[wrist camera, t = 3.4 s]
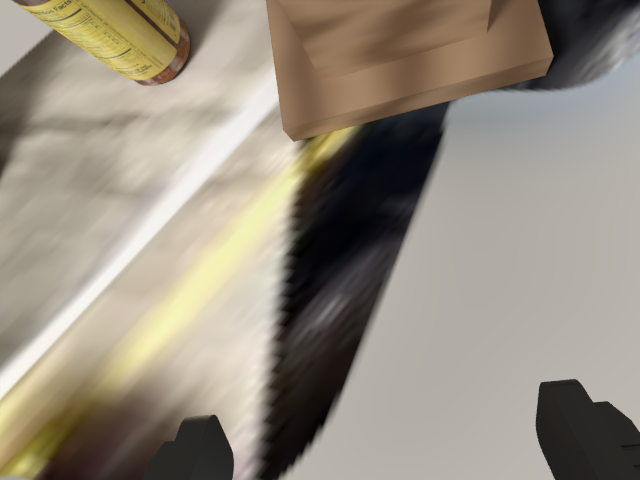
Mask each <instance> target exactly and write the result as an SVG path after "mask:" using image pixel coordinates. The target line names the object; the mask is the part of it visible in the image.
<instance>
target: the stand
mask: <svg viewBox="0 0 640 480" xmlns="http://www.w3.org/2000/svg"><path fill="white" fill-rule="evenodd" d="M266 5H267V12H268V20H269V27H270V34H271V42H272V49H273V57H274V64H275V72H276V79H277V87H278V94H279V101H280V109H281V116H282V124H283V130H284V131H285V132H286V134H287V135H288V136H289V137H290V138H291V139H292V140H293V141H298V140H302V139H306V138H310V137H313V136H317V135H321V134H325V133H329V132H332V131H336V130H340V129H344V128H348V127H351V126H355V125H359V124H363V123H367V122H370V121H374V120H378V119H382V118H386V117H389V116H393V115H397V114H401V113H405V112H408V111H412V110H416V109H420V108H424V107H427V106H431V105H435V104H439V103H443V102H446V101H450V100H454V99H458V98H461V97H465V96H469V95H473V94H477V93H480V92H484V91H488V90H492V89H496V88H499V87H503V86H507V85H511V84H515V83H518V82H522V81H526V80H530V79H534V78H537V77H541V76H545V75H546V73H547V70H548V68H549V66H550V63H551V61H552V59H553V53H552V49H551V46H550V42H549V39H548V35H547V32H546V28H545V25H544V22H543V18H542V15H541V11H540V8H539V4H538V1H537V0H266Z"/></svg>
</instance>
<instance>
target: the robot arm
mask: <svg viewBox="0 0 640 480" xmlns="http://www.w3.org/2000/svg"><path fill="white" fill-rule="evenodd" d="M538 396H539V397H538V405H537V414H536V432H537V437H538V441H539V444H540V446H541V449H542V452H543V454H544V456H545V458H546V460H547V463H548V465H549V467H550V469H551V472H552V474H553V476H554V478H555V480H640V432H639V431H638V429H637V428H636V426H635V425H634V424H633V422H632V421H631V420H630V419H629V418H628V417H626V416H625V415H624V414H623V413H622V412H620V411H619V410H618V409H616V408H615V407H614V406H613V405H612V404H610V403H609V402H607V401H605V402H594V403H593V402H592V400H591V399H590V397H589V395H588V394H587V392H586V391H585V389H584V388H583V386H582V385H581V383H580V382H579V381H577V380H576V379H570V380H560V381H551V382H542V383H541V384H540V387H539V395H538ZM233 471H234V458H233V452H232V449H231V447H230V444H229V442H228V440H227V438H226V435H225V433H224V431H223V429H222V427H221V424H220V422H219V420H218V418H217V416H216V415H205V416H194V417H186V418H185V419H184V420H183V421H182V423H181V425H180V428H179V430H178V433H177V436H176V439H175V441H170V442H164V444H163V445H162V446H161V448H160V449H159V450H158V452H157V453H156V454H155V455H154V457H153V458H152V459H151V461H150V462H149V464H148V467H147V470H146V472H145V475H144V477H143V480H232V478H233Z"/></svg>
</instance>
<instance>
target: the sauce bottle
mask: <svg viewBox="0 0 640 480" xmlns="http://www.w3.org/2000/svg"><path fill="white" fill-rule="evenodd" d="M12 1H14V2H15V3H17V4H18V5H20V6H21V7H22V8H24V9H26V10H27V11H28V12H30V13H31V14H33V15H34V16H36V17H37V18H39V19H40V20H42V21H43V22H45V23H46V24H47V25H49V26H50V27H52V28H53V29H55V30H56V31H58V32H59V33H60V34H62V35H63V36H65V37H66V38H68V39H69V40H71V41H72V42H74V43H75V44H77V45H78V46H80V47H81V48H83V49H84V50H86V51H87V52H89V53H90V54H92V55H93V56H95V57H96V58H98V59H99V60H101V61H102V62H104V63H105V64H107V65H108V66H110V67H111V68H112V69H114V70H115V71H117V72H118V73H120V74H121V75H123V76H125V77H126V78H129V79H132V80H134V81H135V82H137V83H139V84H141V85H159V84H163V83H165V82H167V81H170V80H172V79H173V78H174V76H175V75H176V74H177V73H178V72H179V71H180V69H181V68H182V66H183V65H184V63H185V61H186V60H187V57H188V55H189V51H190V40H189V34H188V31H187V28H186V26H185V24H184V23H183V22H182V21H181V20H180V19H179V18H178V17H177V15H176V14H175V12H174V11H173V10H172V8H171V7H170V6H169V5H168V4H167V3H166V2H165V1H164V0H12Z"/></svg>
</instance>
